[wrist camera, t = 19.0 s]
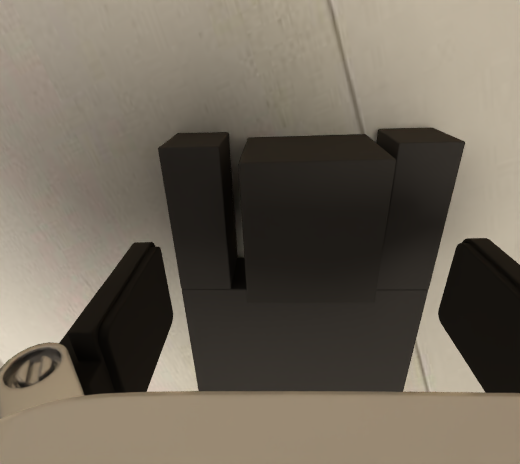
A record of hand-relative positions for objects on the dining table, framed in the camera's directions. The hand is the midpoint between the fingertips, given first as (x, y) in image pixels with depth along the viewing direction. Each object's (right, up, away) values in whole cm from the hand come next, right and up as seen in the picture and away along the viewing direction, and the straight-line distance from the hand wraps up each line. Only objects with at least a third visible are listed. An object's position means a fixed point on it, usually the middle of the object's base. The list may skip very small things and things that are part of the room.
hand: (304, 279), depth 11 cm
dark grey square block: (+1, +3, +6) cm, 7 cm away
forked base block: (+1, -1, +9) cm, 9 cm away
